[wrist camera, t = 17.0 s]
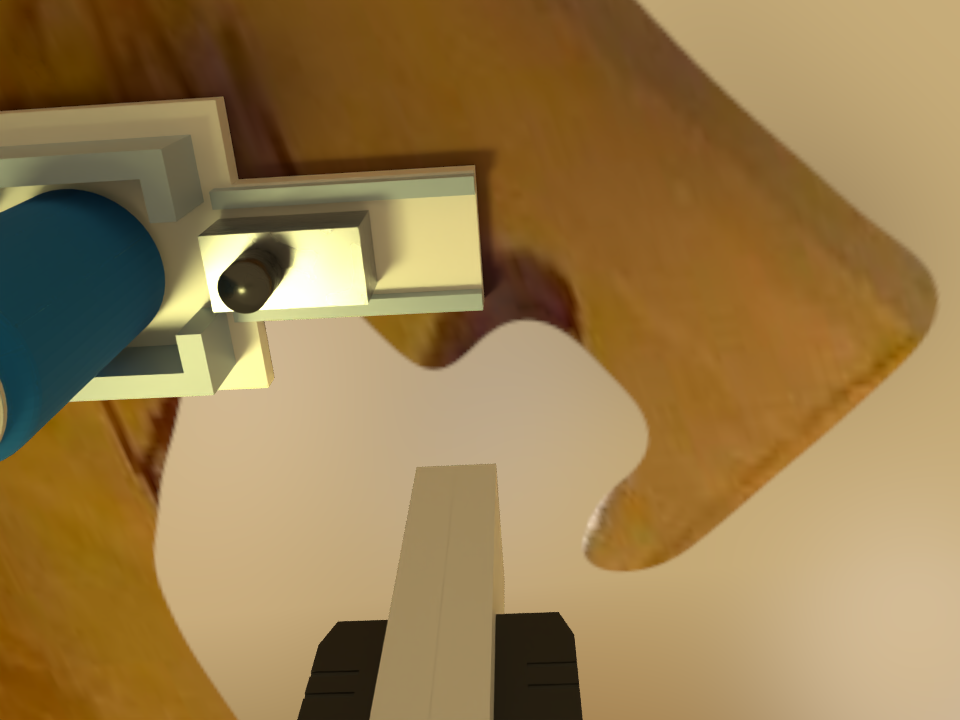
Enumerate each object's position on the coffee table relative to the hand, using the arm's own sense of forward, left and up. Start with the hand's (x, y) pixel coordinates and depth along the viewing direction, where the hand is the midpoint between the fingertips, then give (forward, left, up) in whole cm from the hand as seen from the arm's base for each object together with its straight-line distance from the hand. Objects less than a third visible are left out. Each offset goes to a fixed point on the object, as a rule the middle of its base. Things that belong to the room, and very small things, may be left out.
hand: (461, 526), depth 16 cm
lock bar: (-8, 0, -19) cm, 21 cm away
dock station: (-11, 0, -20) cm, 23 cm away
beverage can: (-16, 0, -19) cm, 25 cm away
